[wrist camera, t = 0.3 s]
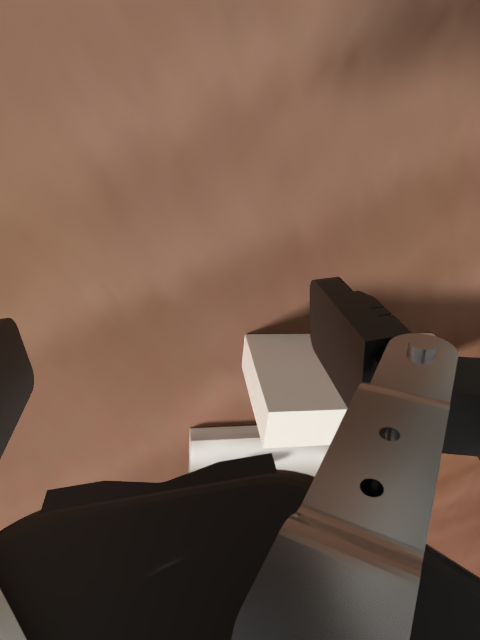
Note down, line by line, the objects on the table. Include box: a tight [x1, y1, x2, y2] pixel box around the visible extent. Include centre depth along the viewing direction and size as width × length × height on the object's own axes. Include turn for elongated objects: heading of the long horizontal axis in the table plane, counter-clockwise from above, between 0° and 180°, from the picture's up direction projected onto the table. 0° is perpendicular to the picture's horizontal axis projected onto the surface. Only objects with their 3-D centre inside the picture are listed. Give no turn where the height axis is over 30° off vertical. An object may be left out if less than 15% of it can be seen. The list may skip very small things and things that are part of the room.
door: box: [242, 333, 435, 449], centre depth 32 cm, size 4×16×9 cm, turn 85°
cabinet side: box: [188, 425, 330, 477], centre depth 40 cm, size 11×22×4 cm, turn 85°
